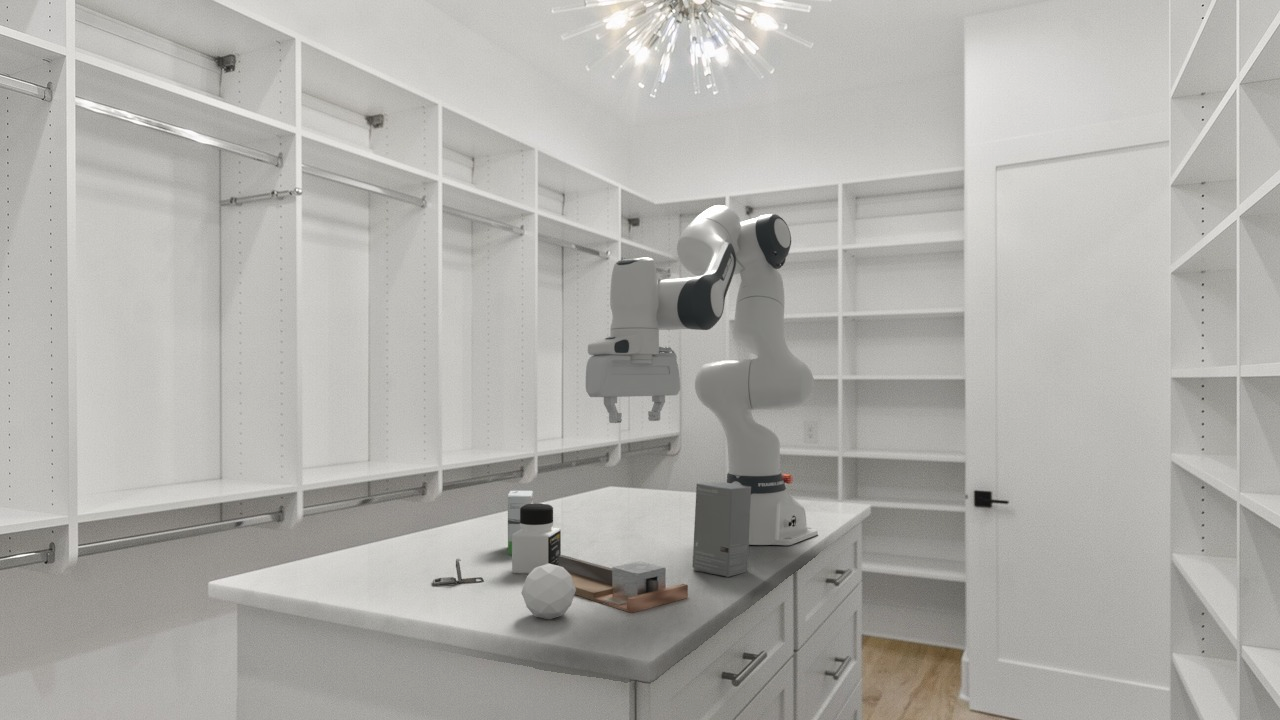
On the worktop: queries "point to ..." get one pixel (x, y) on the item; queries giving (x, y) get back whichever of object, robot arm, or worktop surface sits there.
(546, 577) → the geometric ball
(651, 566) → the grey square block
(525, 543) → the medicine bottle
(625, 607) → the board
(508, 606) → the worktop surface
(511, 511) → the ink box
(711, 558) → the skincare box
